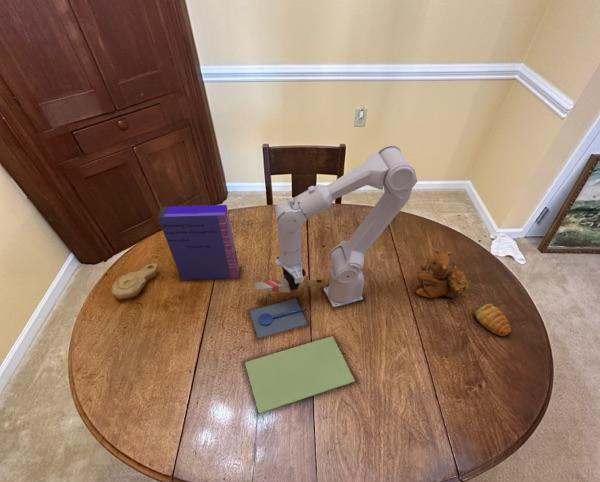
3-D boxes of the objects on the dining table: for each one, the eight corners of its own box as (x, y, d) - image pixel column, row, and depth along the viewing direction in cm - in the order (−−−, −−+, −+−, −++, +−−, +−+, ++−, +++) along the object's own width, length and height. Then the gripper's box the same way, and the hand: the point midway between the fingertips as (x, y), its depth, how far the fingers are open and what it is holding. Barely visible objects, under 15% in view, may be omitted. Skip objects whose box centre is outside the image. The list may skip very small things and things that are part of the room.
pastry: (515, 331, 94) (521, 323, 91) (496, 341, 92) (502, 332, 89) (488, 307, 100) (493, 298, 97) (470, 315, 98) (474, 307, 95)
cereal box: (239, 268, 112) (226, 204, 95) (237, 278, 109) (224, 214, 91) (184, 269, 112) (161, 205, 94) (181, 280, 109) (157, 216, 91)
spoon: (302, 304, 101) (302, 302, 100) (307, 314, 98) (307, 312, 97) (257, 317, 98) (256, 314, 97) (260, 327, 95) (260, 325, 95)
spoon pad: (295, 299, 103) (295, 298, 103) (307, 324, 96) (307, 323, 96) (249, 311, 100) (249, 310, 100) (258, 338, 93) (258, 338, 93)
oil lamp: (163, 271, 111) (158, 260, 108) (145, 306, 102) (138, 294, 98) (131, 269, 112) (125, 258, 109) (110, 303, 103) (103, 291, 99)
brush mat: (332, 336, 94) (332, 335, 93) (354, 381, 84) (355, 380, 84) (244, 363, 88) (244, 362, 88) (258, 414, 79) (258, 413, 79)
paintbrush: (254, 277, 97) (325, 274, 98) (254, 284, 98) (324, 281, 100) (254, 287, 94) (327, 283, 96) (254, 294, 96) (326, 291, 98)
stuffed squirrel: (419, 272, 110) (430, 239, 100) (466, 288, 105) (482, 255, 95) (409, 292, 104) (420, 259, 94) (458, 310, 99) (474, 278, 89)
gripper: (267, 231, 91) (270, 269, 101) (282, 268, 82) (285, 305, 91) (292, 226, 92) (294, 263, 102) (311, 261, 83) (310, 299, 93)
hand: (291, 283), depth 97 cm, fingers closed on paintbrush, 4 cm apart
